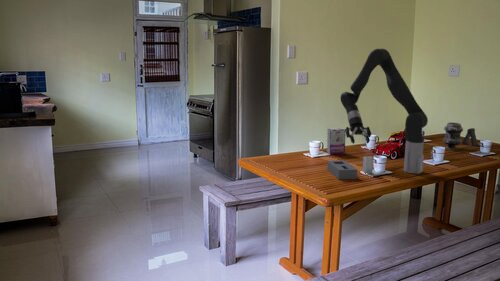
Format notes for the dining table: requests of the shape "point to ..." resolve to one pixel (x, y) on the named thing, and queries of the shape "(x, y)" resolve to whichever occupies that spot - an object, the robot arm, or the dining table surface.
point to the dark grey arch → (473, 138)
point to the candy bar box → (336, 141)
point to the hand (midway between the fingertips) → (360, 142)
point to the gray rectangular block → (367, 164)
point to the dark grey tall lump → (452, 135)
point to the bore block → (342, 169)
